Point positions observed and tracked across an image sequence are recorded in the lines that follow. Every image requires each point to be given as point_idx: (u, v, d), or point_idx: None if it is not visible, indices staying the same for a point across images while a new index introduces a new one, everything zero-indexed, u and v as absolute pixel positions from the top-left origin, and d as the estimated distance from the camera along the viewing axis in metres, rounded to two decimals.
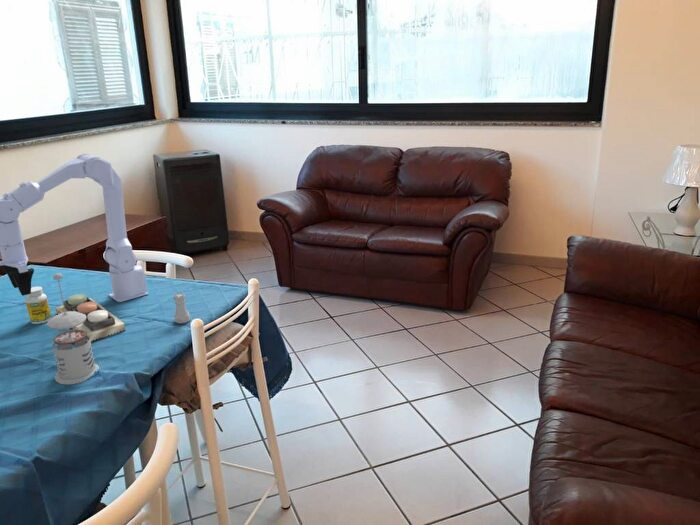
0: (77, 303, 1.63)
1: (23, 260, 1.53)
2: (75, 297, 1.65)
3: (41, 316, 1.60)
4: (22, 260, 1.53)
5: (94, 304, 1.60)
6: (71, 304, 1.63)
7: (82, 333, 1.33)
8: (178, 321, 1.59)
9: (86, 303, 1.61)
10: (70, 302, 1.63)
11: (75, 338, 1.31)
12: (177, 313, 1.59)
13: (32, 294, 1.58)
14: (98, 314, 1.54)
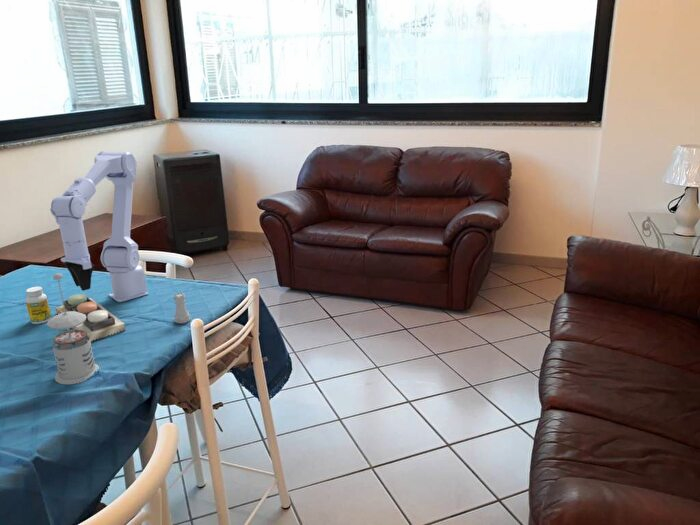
0: (77, 303, 1.63)
1: (86, 257, 1.54)
2: (75, 297, 1.65)
3: (41, 316, 1.60)
4: (85, 257, 1.53)
5: (94, 304, 1.60)
6: (71, 304, 1.63)
7: (82, 333, 1.33)
8: (178, 321, 1.59)
9: (86, 303, 1.61)
10: (70, 302, 1.63)
11: (75, 338, 1.31)
12: (177, 313, 1.59)
13: (32, 294, 1.58)
14: (98, 314, 1.54)
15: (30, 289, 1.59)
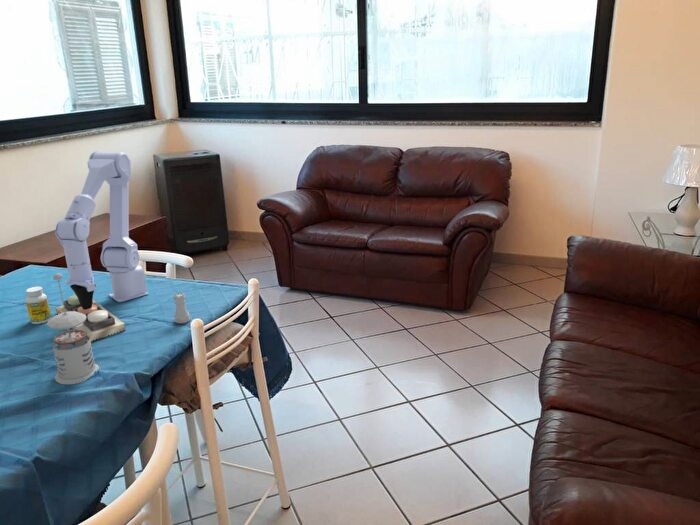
0: (77, 303, 1.63)
1: (90, 279, 1.56)
2: (75, 297, 1.65)
3: (41, 316, 1.60)
4: (89, 279, 1.56)
5: (94, 307, 1.60)
6: (71, 304, 1.63)
7: (82, 333, 1.33)
8: (178, 321, 1.59)
9: None
10: (70, 302, 1.63)
11: (75, 338, 1.31)
12: (177, 313, 1.59)
13: (32, 294, 1.58)
14: (98, 314, 1.54)
15: (30, 289, 1.59)
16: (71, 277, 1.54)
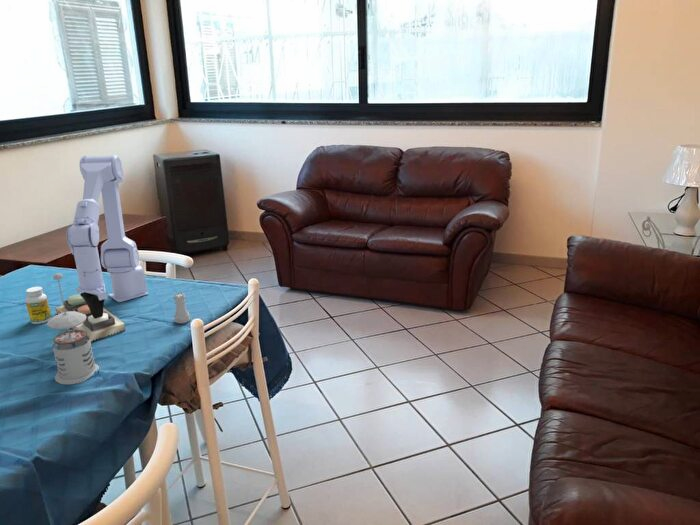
0: (77, 303, 1.63)
1: (101, 286, 1.50)
2: (75, 297, 1.65)
3: (41, 316, 1.60)
4: (100, 286, 1.50)
5: None
6: (71, 304, 1.63)
7: (82, 333, 1.33)
8: (178, 321, 1.59)
9: (86, 306, 1.61)
10: (70, 302, 1.63)
11: (75, 338, 1.31)
12: (177, 313, 1.59)
13: (32, 294, 1.58)
14: (99, 317, 1.54)
15: (30, 289, 1.59)
16: (82, 285, 1.49)
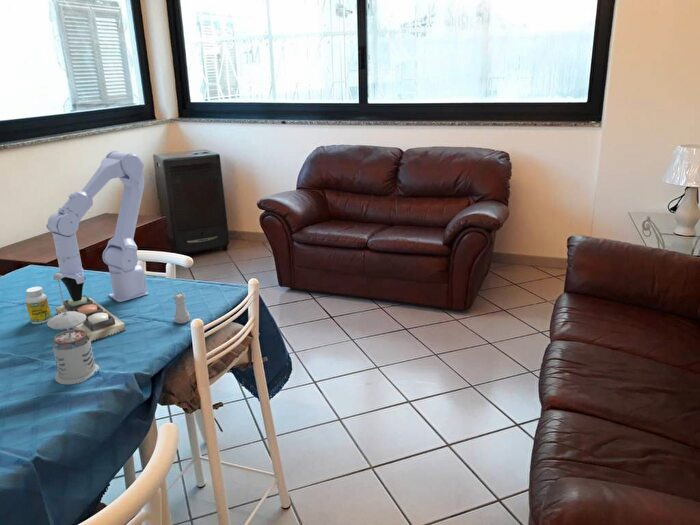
0: None
1: (79, 271, 1.61)
2: None
3: (41, 316, 1.60)
4: (78, 271, 1.61)
5: (94, 307, 1.60)
6: None
7: (82, 333, 1.33)
8: (178, 321, 1.59)
9: (86, 306, 1.61)
10: (71, 305, 1.63)
11: (75, 338, 1.31)
12: (177, 313, 1.59)
13: (32, 294, 1.58)
14: (99, 317, 1.54)
15: (30, 289, 1.59)
16: (61, 270, 1.60)
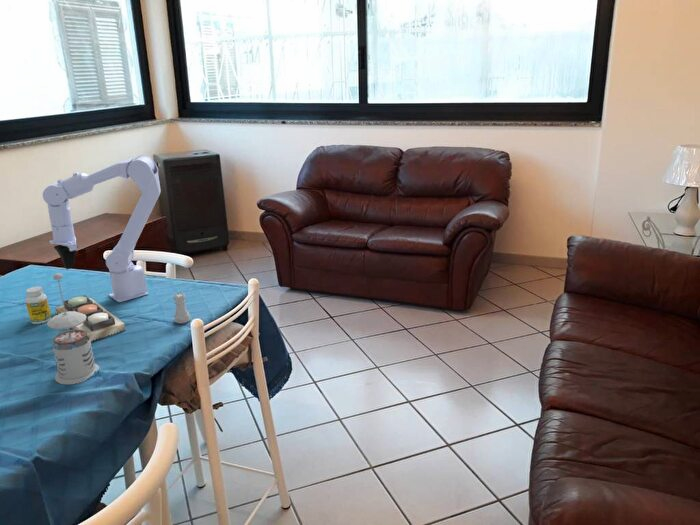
0: None
1: (72, 240, 1.69)
2: (75, 300, 1.65)
3: (41, 316, 1.60)
4: (71, 240, 1.69)
5: (94, 307, 1.60)
6: None
7: (82, 333, 1.33)
8: (178, 321, 1.59)
9: (86, 306, 1.61)
10: (71, 305, 1.63)
11: (75, 338, 1.31)
12: (177, 313, 1.59)
13: (32, 294, 1.58)
14: (99, 317, 1.54)
15: (30, 289, 1.59)
16: (55, 238, 1.67)
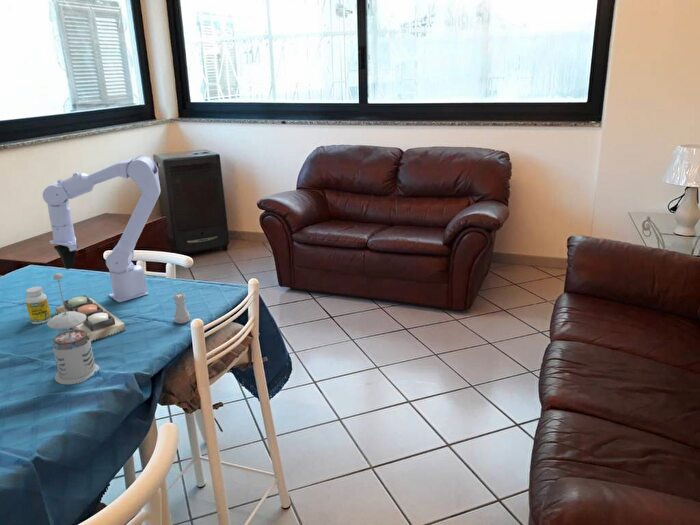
0: None
1: (72, 240, 1.69)
2: (75, 300, 1.65)
3: (41, 316, 1.60)
4: (71, 240, 1.69)
5: (94, 307, 1.60)
6: None
7: (82, 333, 1.33)
8: (178, 321, 1.59)
9: (86, 306, 1.61)
10: (71, 305, 1.63)
11: (75, 338, 1.31)
12: (177, 313, 1.59)
13: (32, 294, 1.58)
14: (99, 317, 1.54)
15: (30, 289, 1.59)
16: (55, 238, 1.67)
